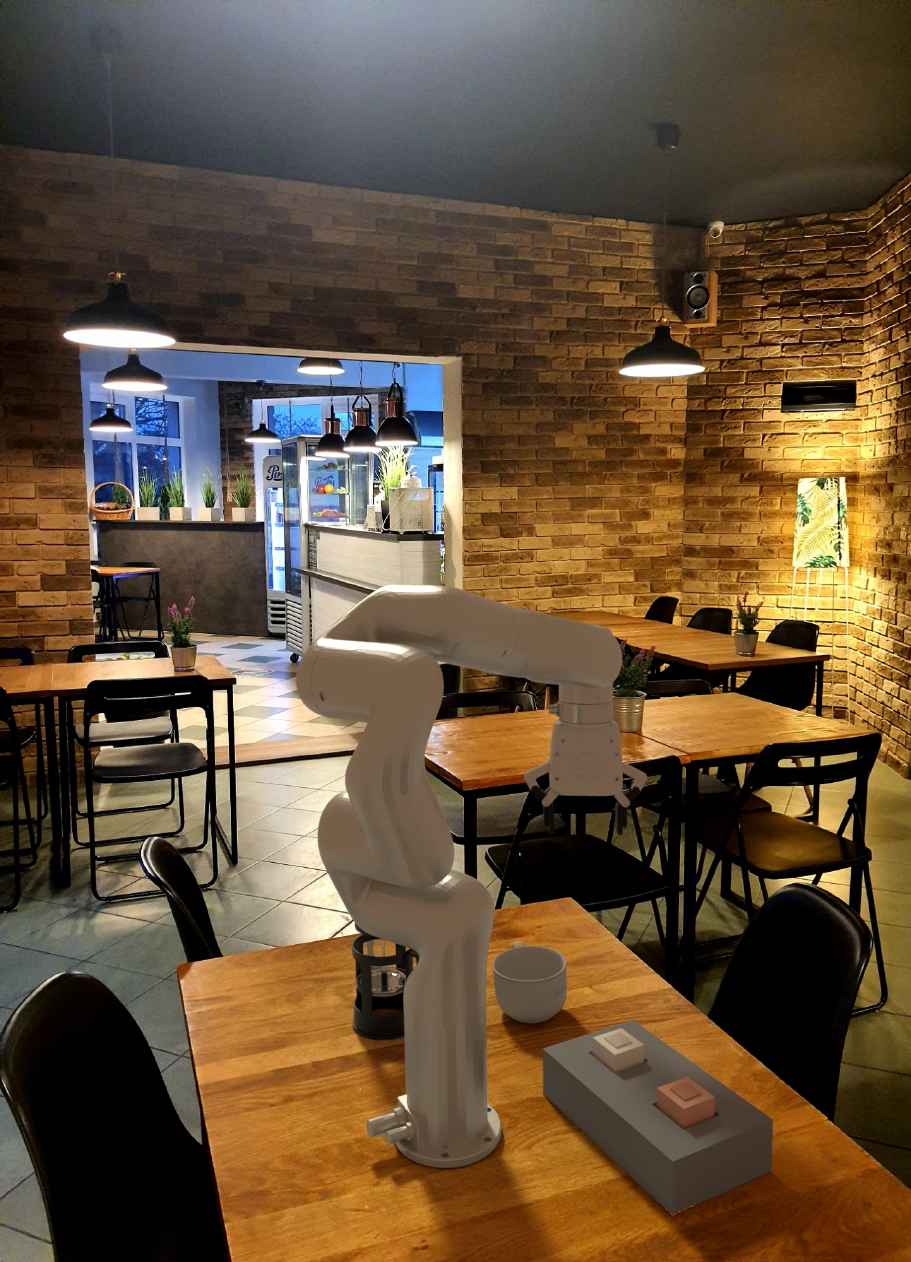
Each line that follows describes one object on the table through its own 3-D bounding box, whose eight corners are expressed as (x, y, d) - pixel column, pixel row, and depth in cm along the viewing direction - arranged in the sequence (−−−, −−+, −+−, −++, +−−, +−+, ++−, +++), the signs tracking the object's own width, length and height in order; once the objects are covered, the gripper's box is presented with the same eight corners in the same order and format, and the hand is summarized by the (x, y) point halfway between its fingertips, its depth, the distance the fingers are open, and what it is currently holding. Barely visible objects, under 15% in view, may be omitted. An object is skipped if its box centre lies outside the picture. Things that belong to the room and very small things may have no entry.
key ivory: (614, 1078, 111) (614, 1052, 111) (592, 1060, 115) (592, 1035, 115) (643, 1068, 113) (644, 1043, 113) (621, 1050, 117) (621, 1026, 117)
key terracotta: (683, 1134, 101) (683, 1106, 100) (656, 1112, 105) (656, 1085, 104) (714, 1122, 103) (714, 1094, 103) (686, 1101, 107) (687, 1074, 106)
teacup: (570, 1032, 131) (570, 977, 130) (493, 1032, 131) (492, 978, 131) (561, 984, 145) (561, 934, 144) (491, 984, 145) (490, 935, 144)
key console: (672, 1216, 96) (672, 1161, 95) (543, 1093, 117) (542, 1048, 116) (771, 1170, 102) (772, 1119, 102) (632, 1062, 123) (632, 1019, 123)
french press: (335, 1028, 133) (330, 872, 131) (373, 999, 141) (369, 851, 139) (404, 1050, 127) (401, 887, 125) (440, 1018, 135) (437, 864, 133)
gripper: (524, 717, 128) (524, 839, 130) (651, 718, 127) (650, 840, 129) (523, 708, 136) (523, 823, 138) (643, 708, 135) (642, 824, 137)
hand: (584, 831), depth 133 cm, fingers open, 9 cm apart
